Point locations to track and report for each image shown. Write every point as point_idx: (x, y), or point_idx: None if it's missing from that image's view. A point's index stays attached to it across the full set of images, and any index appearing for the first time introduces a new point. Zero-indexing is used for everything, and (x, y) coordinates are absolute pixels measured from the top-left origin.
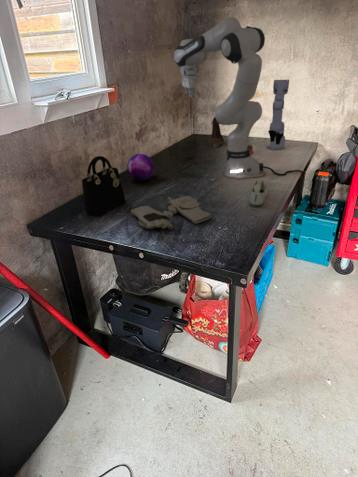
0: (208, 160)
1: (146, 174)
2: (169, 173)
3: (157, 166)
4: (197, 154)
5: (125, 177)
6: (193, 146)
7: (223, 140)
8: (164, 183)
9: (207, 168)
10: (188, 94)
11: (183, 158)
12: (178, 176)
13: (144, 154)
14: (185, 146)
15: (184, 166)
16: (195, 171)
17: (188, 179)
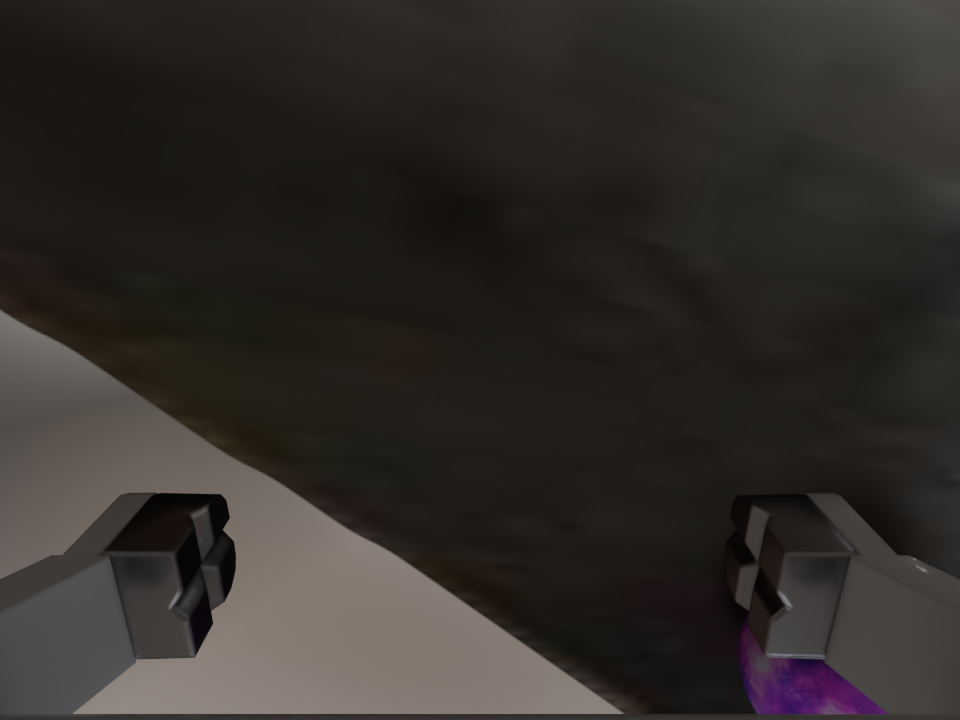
0: (579, 55)
1: None
2: (755, 437)
3: (560, 487)
4: (342, 106)
5: (691, 673)
6: (19, 65)
7: None
8: (925, 496)
9: (795, 135)
10: (213, 512)
11: (428, 265)
12: (850, 393)
13: (882, 712)
14: (5, 152)
15: (651, 305)
16: (814, 252)
17: (949, 343)
